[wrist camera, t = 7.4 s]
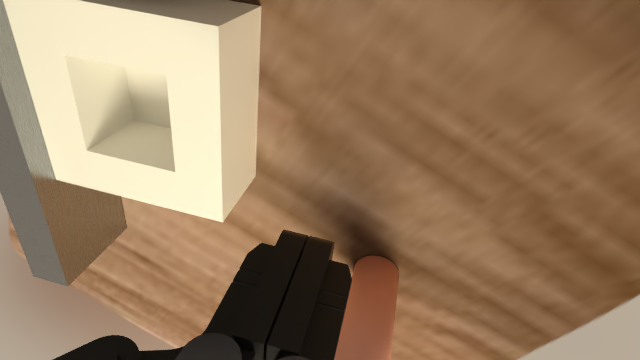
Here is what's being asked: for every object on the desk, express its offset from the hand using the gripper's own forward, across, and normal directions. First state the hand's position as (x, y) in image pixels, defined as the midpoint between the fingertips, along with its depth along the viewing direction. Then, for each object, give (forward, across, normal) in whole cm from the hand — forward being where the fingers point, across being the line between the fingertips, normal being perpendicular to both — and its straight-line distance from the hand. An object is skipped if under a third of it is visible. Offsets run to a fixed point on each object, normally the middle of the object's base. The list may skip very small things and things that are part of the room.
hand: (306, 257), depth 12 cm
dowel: (+11, -3, +12) cm, 16 cm away
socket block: (+12, +11, +1) cm, 16 cm away
